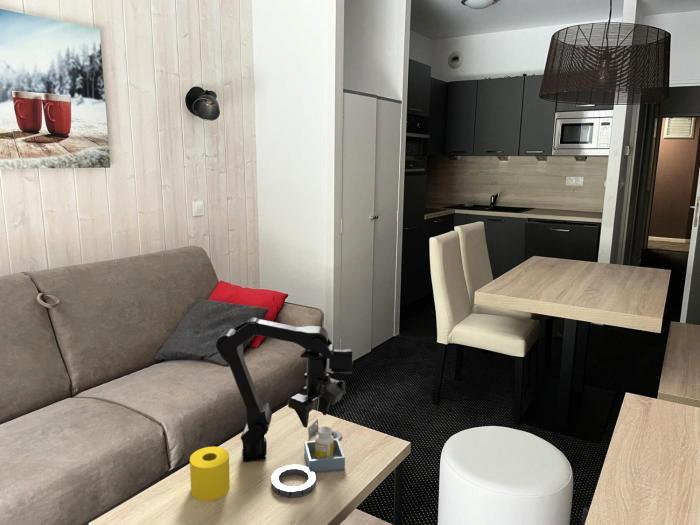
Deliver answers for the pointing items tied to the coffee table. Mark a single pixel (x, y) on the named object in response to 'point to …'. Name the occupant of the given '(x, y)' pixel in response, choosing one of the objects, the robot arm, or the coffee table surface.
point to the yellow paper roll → (209, 473)
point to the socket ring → (293, 491)
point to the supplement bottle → (324, 443)
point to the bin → (326, 463)
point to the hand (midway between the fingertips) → (315, 420)
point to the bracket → (314, 426)
